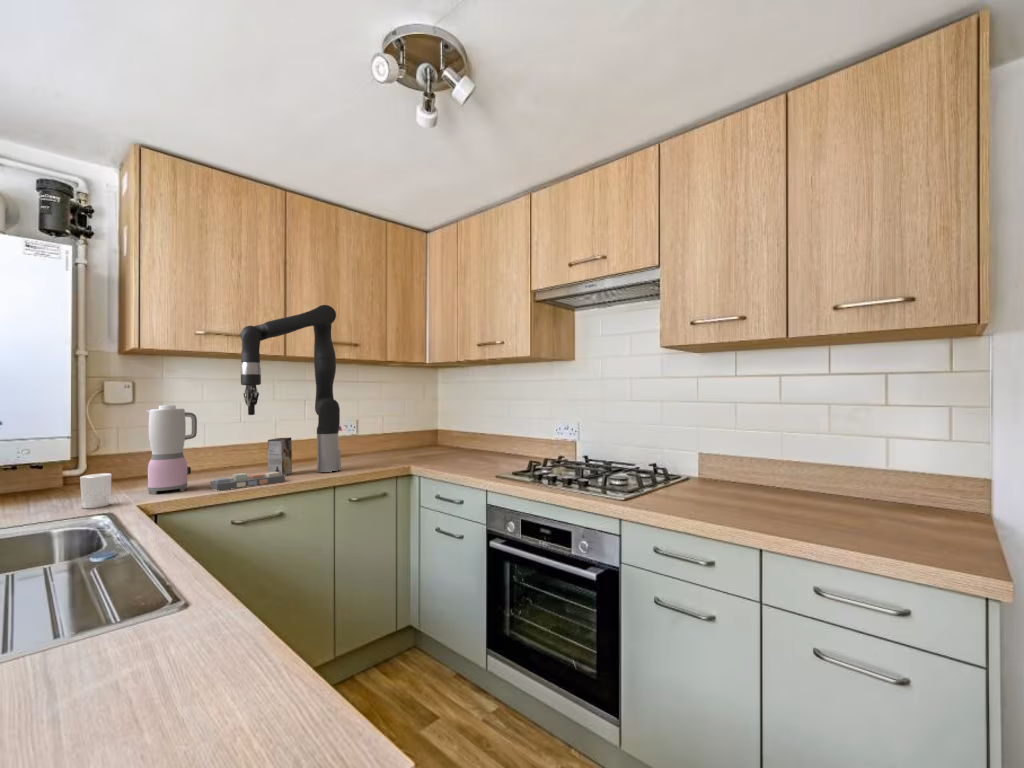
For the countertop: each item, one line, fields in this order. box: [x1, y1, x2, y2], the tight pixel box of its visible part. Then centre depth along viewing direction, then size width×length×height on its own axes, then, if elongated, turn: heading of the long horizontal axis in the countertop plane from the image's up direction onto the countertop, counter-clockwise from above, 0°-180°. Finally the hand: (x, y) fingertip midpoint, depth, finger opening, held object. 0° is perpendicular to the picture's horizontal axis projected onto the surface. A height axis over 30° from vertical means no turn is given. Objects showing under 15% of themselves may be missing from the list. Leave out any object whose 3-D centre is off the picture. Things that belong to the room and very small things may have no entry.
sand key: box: [265, 472, 279, 477], centre depth 200 cm, size 4×4×3 cm
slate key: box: [214, 477, 231, 483], centre depth 187 cm, size 4×4×3 cm
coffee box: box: [267, 437, 293, 476], centre depth 216 cm, size 9×6×16 cm
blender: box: [146, 404, 198, 495], centre depth 185 cm, size 16×12×32 cm
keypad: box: [209, 473, 286, 492], centre depth 193 cm, size 24×10×2 cm, turn 134°
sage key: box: [232, 472, 248, 481], centre depth 191 cm, size 4×4×3 cm
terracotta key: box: [249, 473, 264, 479], centre depth 196 cm, size 4×4×3 cm
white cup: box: [79, 472, 113, 509], centre depth 160 cm, size 8×8×10 cm
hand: (251, 414), depth 206 cm, fingers closed
